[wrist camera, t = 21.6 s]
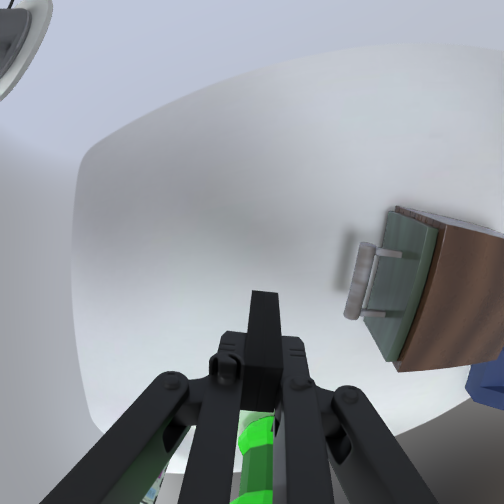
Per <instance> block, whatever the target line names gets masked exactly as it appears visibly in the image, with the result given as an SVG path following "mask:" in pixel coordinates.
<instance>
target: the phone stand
mask: <svg viewBox="0 0 504 504" xmlns="http://www.w3.org/2000/svg"><path fill="white" fill-rule="evenodd" d="M465 389H466V391H467V392H468V393H469V395H470V396H471V398H472V399H473V401H474V402H477V403H480V404H484V405H487V406H490V407H494V408H497V409H501V410H504V346H503V348H502V350H501V352H500V354H499V356H498V358H497V360H493V361H488V362H483V363H477V364H472V366H471V369H470V373H469V376H468V380H467V383H466V386H465Z"/></svg>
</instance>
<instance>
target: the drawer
mask: <svg viewBox="0 0 504 504" xmlns="http://www.w3.org/2000/svg"><path fill="white" fill-rule="evenodd" d="M438 235H439V233H438V228H435V227H433V226H431V225H428V224H426V223H423V222H421V221H418V220H416V219H413V218H411V217H408V216H406V215H403V214H401V213H398V212H393V211H389V215H388V220H387V226H386V231H385V236H384V241H383V246H382V248H380V247H376V246H375V245H374V244H371V243H367V242H361V243H360V245H359V250H358V255H357V260H356V265H355V269H354V274H353V278H352V282H351V287H350V291H349V295H348V299H347V303H346V307H345V310H344V317H346V318H347V319H350V320H357V319H358V318H359V316H364V320H363V321H364V322H365V324H366V326H367V328H368V329H369V331H370V333H371V335H372V337H373V339H374V340H375V342H376V344H377V346H378V348H379V350H380V351H381V353H382V355H383V357H384V359H385V361H386V362H396V361H397V359H398V357H399V354H400V352H401V350H402V347H403V345H404V344H405V342H406V340H407V337H408V335H409V332H410V330H411V327H412V324H413V322H414V319H415V316H416V313H417V310H418V308H417V307H418V304H419V301H420V298H421V295H422V292H423V289H424V285H425V282H426V279H427V275H428V271H429V268H430V264H431V261H432V260H433V256H434V252H435V248H436V244H437V239H438ZM375 255H379V256H380V260H379V264H378V268H377V272H376V277H375V280H374V284H373V288H372V292H371V296H370V299H369V303H368V306H367V309H364V308H362V304H363V300H364V297H365V293H366V289H367V285H368V281H369V277H370V273H371V269H372V264H373V260H374V256H375Z"/></svg>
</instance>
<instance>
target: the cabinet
mask: <svg viewBox="0 0 504 504" xmlns="http://www.w3.org/2000/svg"><path fill="white" fill-rule="evenodd" d="M395 212H398V213H401V214H403V215H406V216H408V217H411V218H413V219H416V220H418V221H421V222H423V223H426V224H428V225H431V226H433V227H435V228H438V233H439V235H438V239H437V244H436V248H435V252H434V256H433V260H432V264H431V268H430V272H429V275H428V279H427V282H426V285H425V289H424V292H423V295H422V298H421V301H420V304H419V307H418V310H417V313H416V316H415V319H414V322H413V324H412V327H411V330H410V332H409V335H408V337H407V340H406V342H405V344H404V345H403V347H402V350H401V352H400V354H399V357H398V359H397V361H396V362H392V363H393V365H394V366H395V368H396V370H397V372H412V371H424V370H434V369H443V368H451V367H458V366H465V365H471V364H477V363H483V362H488V361H493V360H497V358H498V356H499V354H500V352H501V350H502V348H503V346H504V234H502V233H500V232H497V231H495V230H492V229H489V228H486V227H483V226H479V225H476V224H472V223H468V222H464V221H460V220H457V219H453V218H448V217H444V216H440V215H436V214H432V213H427V212H423V211H418V210H414V209H409V208H404V207H400V206H396V209H395Z"/></svg>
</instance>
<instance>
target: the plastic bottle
mask: <svg viewBox="0 0 504 504" xmlns="http://www.w3.org/2000/svg"><path fill="white" fill-rule="evenodd" d="M273 420H274V416H268V417H264V418H261V419H259V420H257V421H254V422H252V423H250V424H249V426H248V427H247V428H246V429H245V430H244V431H243V433H242V434H241V435H240V437H239V439H238V446H239V449H240V451H241V453H242V455H243V464H242V473H241V483H240V491H239V497H238V498H237V499H235V500H234V501H232V502H231V503H229V504H272V497H273V432H271V428H272V424H273Z"/></svg>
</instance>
